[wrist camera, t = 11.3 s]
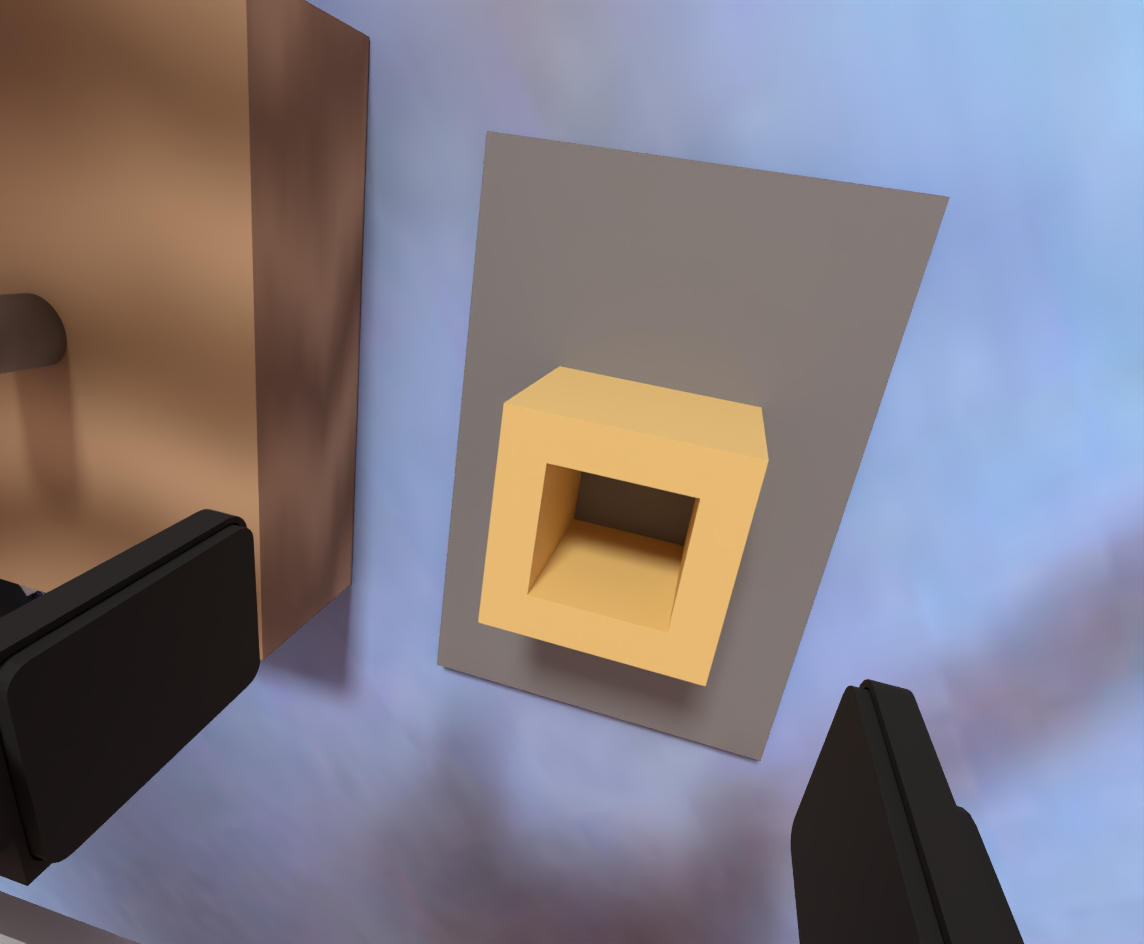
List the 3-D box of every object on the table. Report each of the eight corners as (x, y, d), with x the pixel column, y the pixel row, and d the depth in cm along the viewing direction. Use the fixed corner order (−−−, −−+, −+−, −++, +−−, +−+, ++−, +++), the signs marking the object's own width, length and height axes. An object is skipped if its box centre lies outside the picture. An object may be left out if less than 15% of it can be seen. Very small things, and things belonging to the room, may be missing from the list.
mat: (494, 134, 18) (486, 130, 18) (942, 198, 16) (949, 197, 16) (443, 655, 25) (437, 664, 24) (759, 748, 23) (760, 760, 22)
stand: (-27, -11, 21) (-586, -199, 12) (369, 37, 18) (31, -155, 10) (50, 499, 27) (-276, 618, 18) (351, 583, 25) (139, 767, 16)
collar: (559, 366, 19) (503, 403, 15) (761, 407, 18) (768, 460, 14) (533, 542, 22) (478, 622, 17) (713, 588, 21) (705, 686, 16)
